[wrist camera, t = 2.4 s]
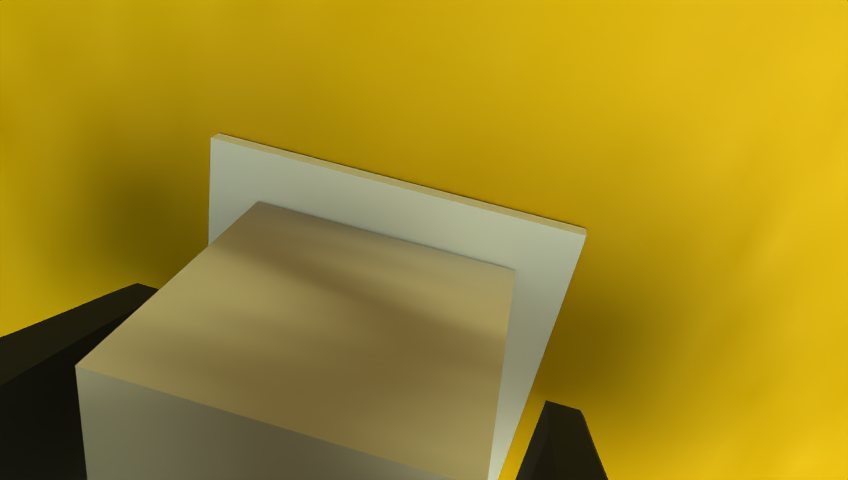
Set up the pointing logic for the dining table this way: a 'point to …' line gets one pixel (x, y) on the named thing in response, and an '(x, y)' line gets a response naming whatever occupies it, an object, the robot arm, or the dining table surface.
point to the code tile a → (417, 242)
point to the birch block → (303, 361)
